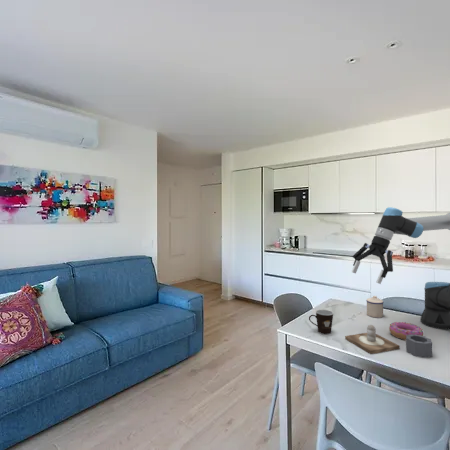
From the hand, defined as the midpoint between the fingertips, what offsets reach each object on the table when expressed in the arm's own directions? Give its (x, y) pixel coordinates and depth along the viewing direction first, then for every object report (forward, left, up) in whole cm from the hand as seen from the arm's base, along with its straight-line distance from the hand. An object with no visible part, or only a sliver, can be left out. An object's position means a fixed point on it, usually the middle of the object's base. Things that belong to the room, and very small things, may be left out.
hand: (365, 277), depth 140 cm
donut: (-19, +6, -30) cm, 36 cm away
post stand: (+4, +8, -29) cm, 30 cm away
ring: (-9, +21, -29) cm, 37 cm away
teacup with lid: (-27, -23, -29) cm, 46 cm away
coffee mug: (+17, -12, -29) cm, 36 cm away
